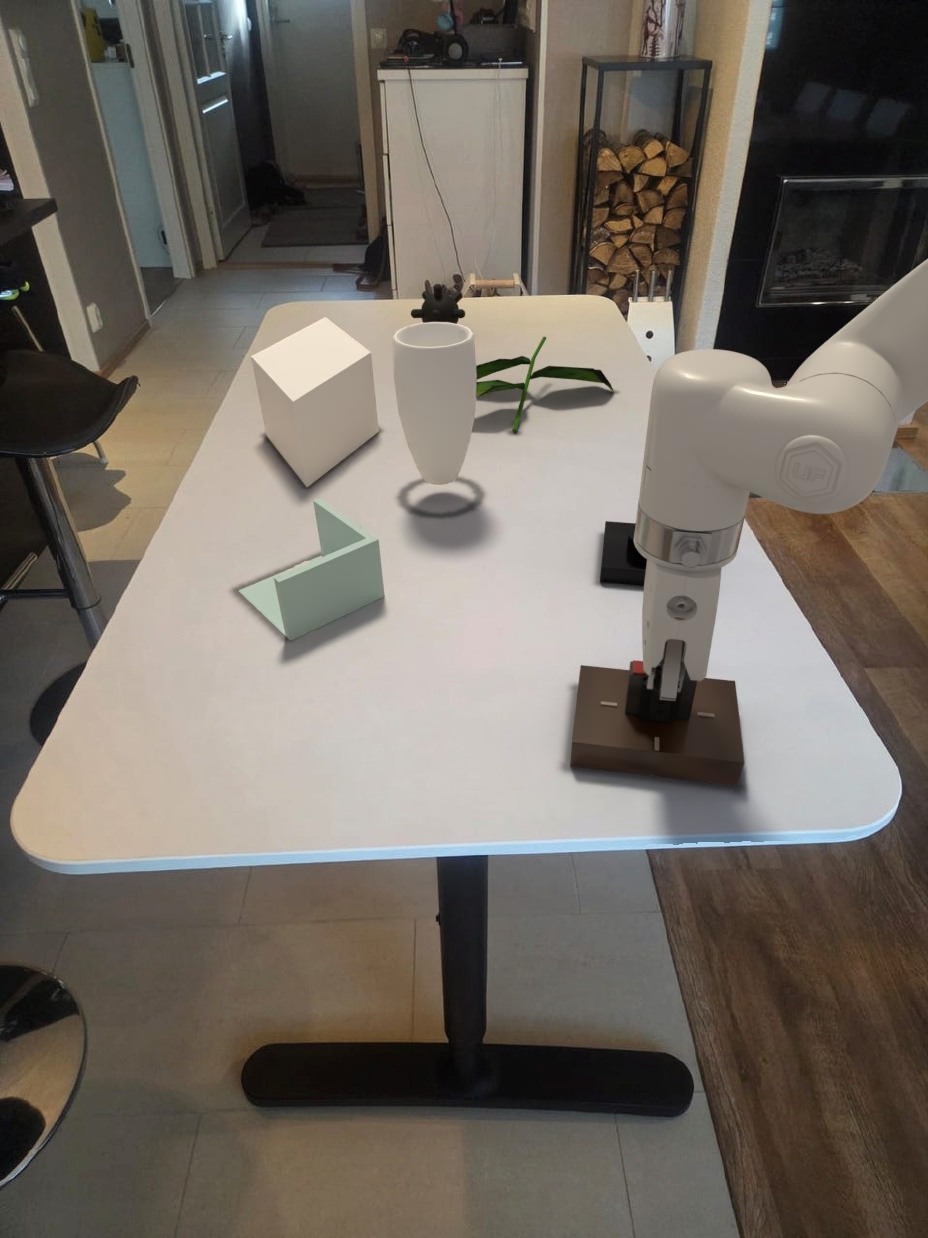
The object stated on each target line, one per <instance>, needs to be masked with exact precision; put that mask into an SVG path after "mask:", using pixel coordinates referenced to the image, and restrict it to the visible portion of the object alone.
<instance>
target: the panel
mask: <svg viewBox="0 0 928 1238" xmlns="http://www.w3.org/2000/svg"><path fill="white" fill-rule="evenodd" d="M628 676H629V669H623V668H613V667H603V666H595V665H594V666H593V665H583V664H581V665H580V667H579V676H578V684H577V692H576V693H577V695H576V703H575V709H574V710H575V711H574V720H573V729H572V736H571V737H572V738H571V749H570V760H569V766H570V767H575V768H577V767H578V768H584V769H593V770H600V771H601V770H602V771H608V772H609V771H610V772H617V773H624V774H625V773H626V774H633V775H635V774H636V775H640V776H641V775H642V776H649V777H658V778H665V779H666V778H667V779H674V780H683V781H688V782H689V781H690V782H699V783H706V784H714V785H723V786H732V787H739V783H740V781H741V777H742V773H743V770H744V766H745V756H744V748H743V747H744V746H743V737H742V729H741V720H740V719H741V718H740V710H739V703H738V702H739V701H738V694H737V693H738V692H737V685H736V680H729V679H719V678H709V677H705V678H704V679H703V680H702V681H697V686H696V691H695V695H694V700H693V705H692V710H691V715H690V719H689V720H683V719H677V721H676V722H674V723H668V722H659V721H650V720H642V719H640V718H639V714H630V713H625V698H626V691H627V683H628Z"/></svg>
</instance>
